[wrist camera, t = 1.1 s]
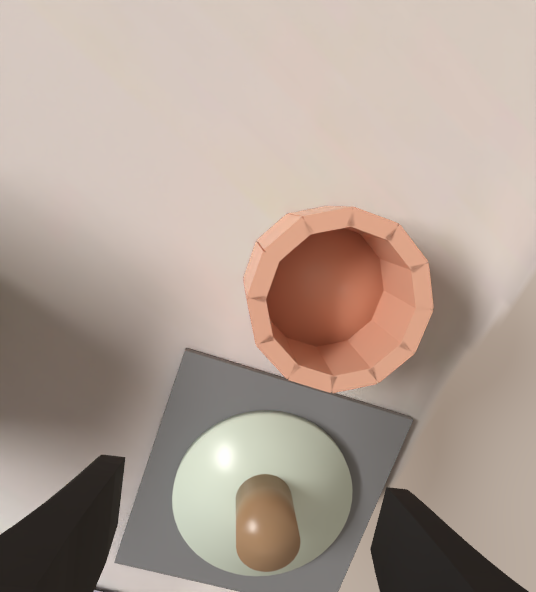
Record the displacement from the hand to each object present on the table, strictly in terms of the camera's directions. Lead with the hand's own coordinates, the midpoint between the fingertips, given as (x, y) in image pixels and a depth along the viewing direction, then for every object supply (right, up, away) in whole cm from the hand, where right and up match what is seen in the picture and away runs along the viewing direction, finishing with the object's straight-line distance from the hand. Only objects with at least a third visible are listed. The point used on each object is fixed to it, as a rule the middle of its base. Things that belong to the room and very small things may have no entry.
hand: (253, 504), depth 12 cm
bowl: (+3, +6, +9) cm, 12 cm away
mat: (0, -4, +11) cm, 12 cm away
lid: (0, -4, +11) cm, 12 cm away
